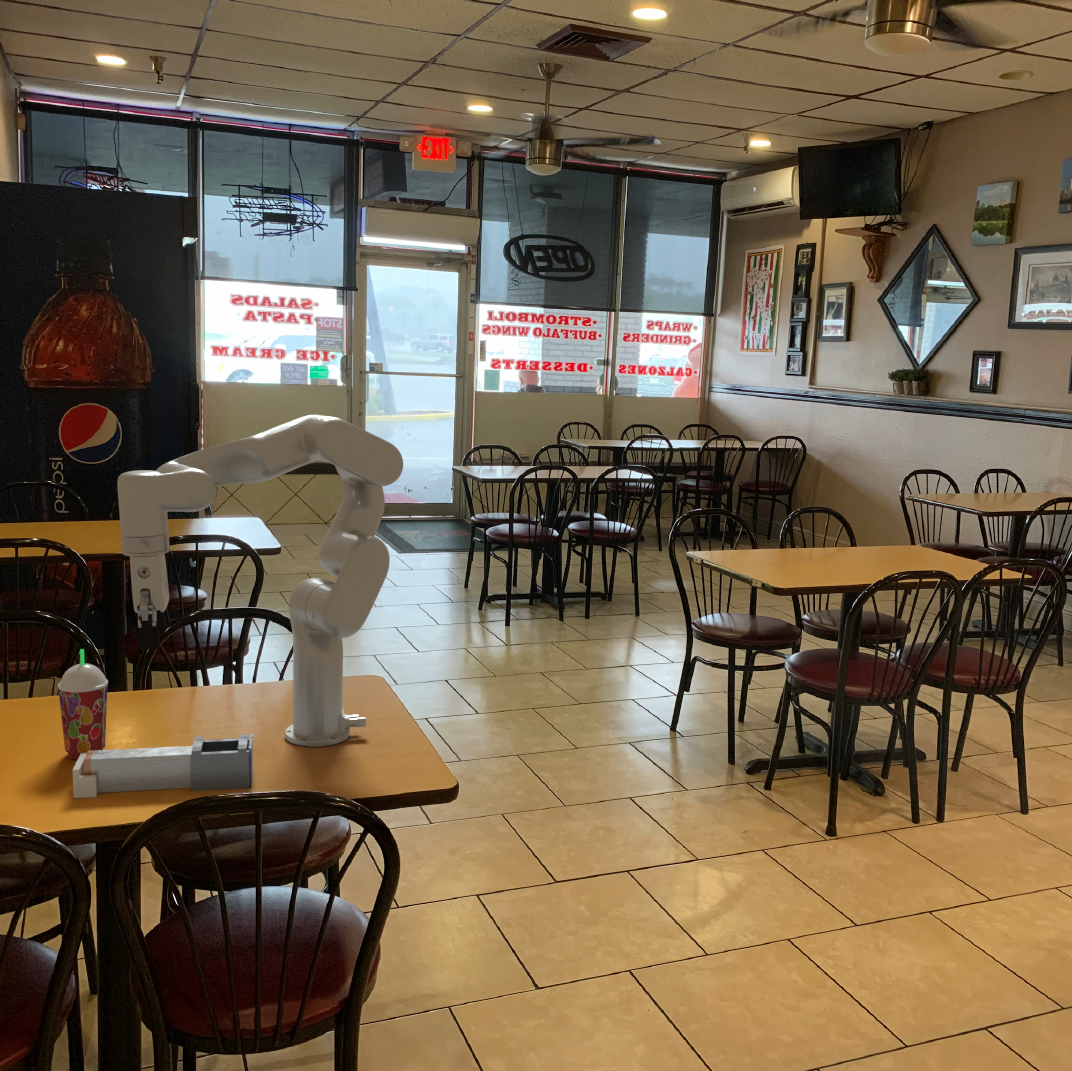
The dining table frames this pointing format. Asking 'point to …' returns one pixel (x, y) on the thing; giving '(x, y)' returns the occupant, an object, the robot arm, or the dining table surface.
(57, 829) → the dining table surface
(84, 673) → the smoothie
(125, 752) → the grey two-tone block
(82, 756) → the socket
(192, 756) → the sleeve
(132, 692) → the dining table surface
